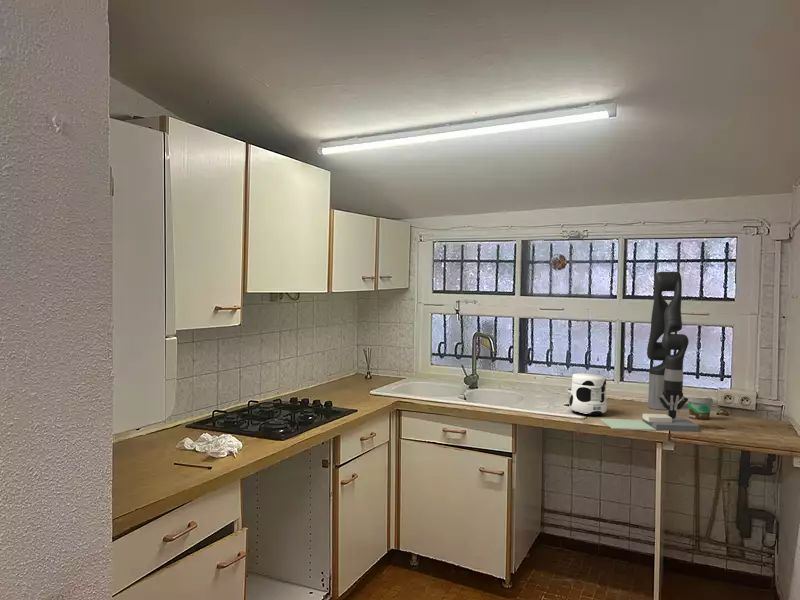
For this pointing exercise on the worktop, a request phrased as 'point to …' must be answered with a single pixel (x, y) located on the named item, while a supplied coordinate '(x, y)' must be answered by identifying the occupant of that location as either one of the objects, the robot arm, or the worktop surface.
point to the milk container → (588, 394)
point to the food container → (699, 408)
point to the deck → (674, 425)
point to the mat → (627, 424)
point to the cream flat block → (657, 418)
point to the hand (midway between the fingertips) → (671, 418)
